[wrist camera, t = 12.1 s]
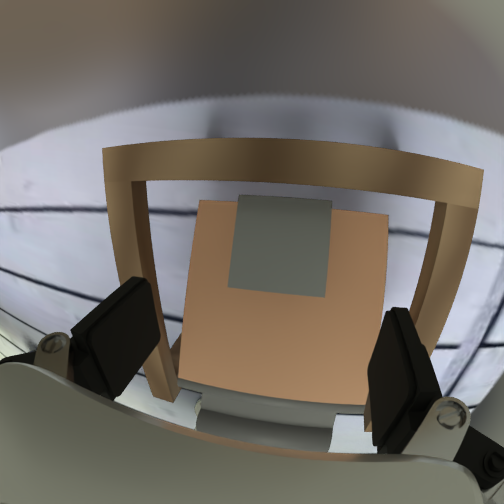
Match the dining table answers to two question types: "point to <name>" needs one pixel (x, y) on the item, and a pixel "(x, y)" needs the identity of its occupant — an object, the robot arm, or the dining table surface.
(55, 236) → the dining table surface
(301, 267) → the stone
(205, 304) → the trapdoor
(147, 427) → the robot arm
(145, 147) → the frame
